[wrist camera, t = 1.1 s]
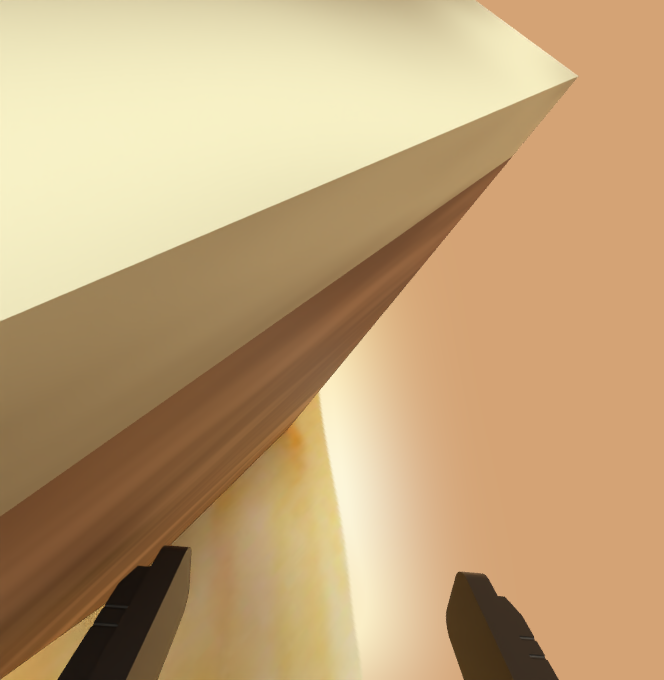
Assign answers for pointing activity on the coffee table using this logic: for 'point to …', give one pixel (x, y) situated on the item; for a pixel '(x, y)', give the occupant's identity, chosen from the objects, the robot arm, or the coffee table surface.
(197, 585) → the coffee table surface
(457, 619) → the robot arm
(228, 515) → the coffee table surface
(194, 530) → the coffee table surface
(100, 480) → the tall shelf
